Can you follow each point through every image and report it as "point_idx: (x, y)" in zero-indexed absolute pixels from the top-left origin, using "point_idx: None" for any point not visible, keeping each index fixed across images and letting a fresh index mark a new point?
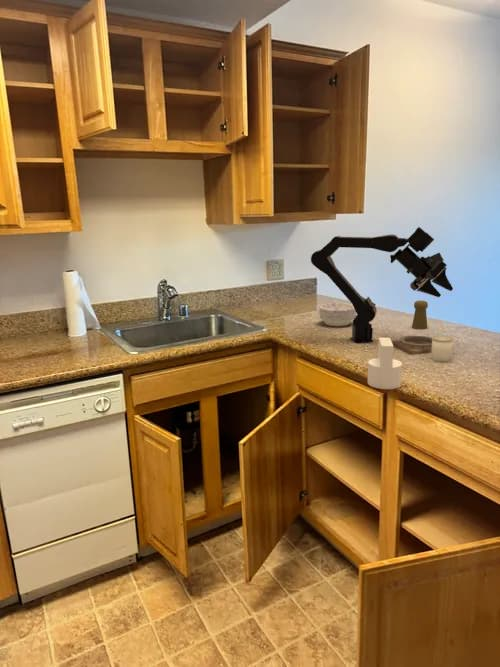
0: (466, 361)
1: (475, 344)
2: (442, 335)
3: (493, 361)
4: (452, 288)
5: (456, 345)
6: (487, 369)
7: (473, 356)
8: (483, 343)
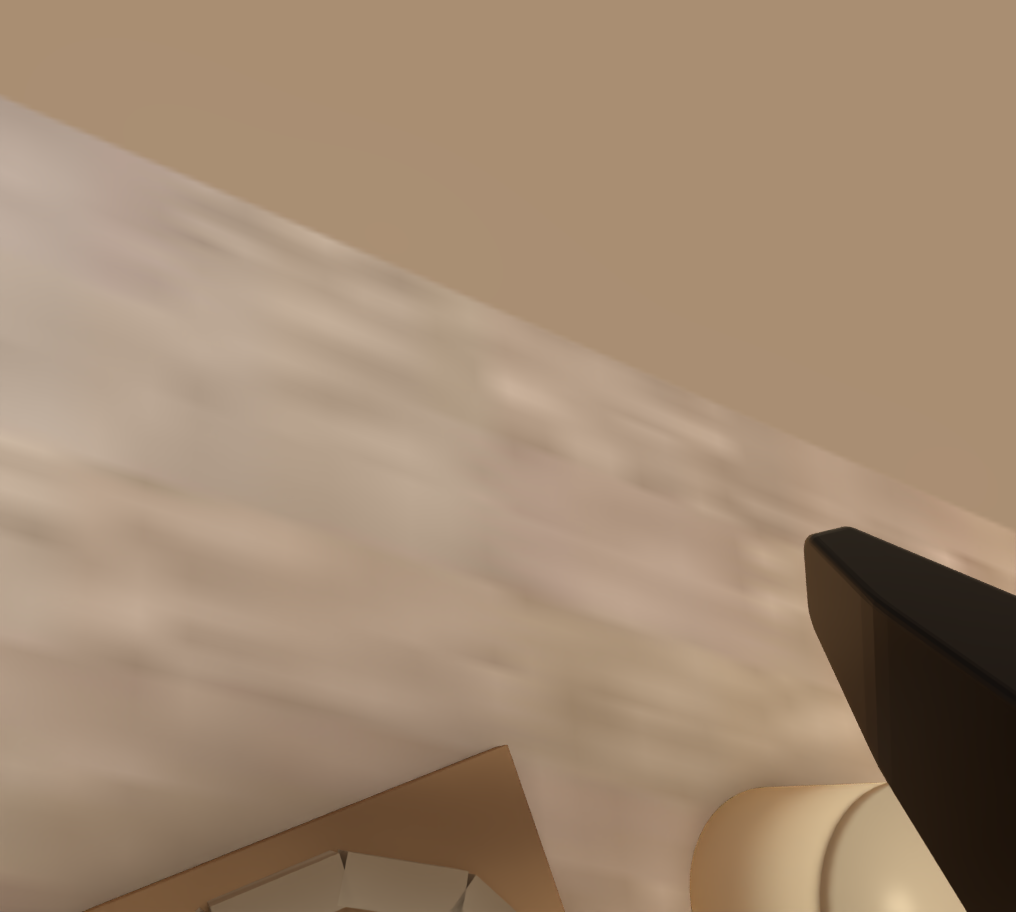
0: (808, 656)
1: (199, 364)
2: (838, 891)
3: (767, 432)
4: (865, 546)
5: (240, 587)
6: (966, 556)
7: (651, 544)
8: (157, 268)
